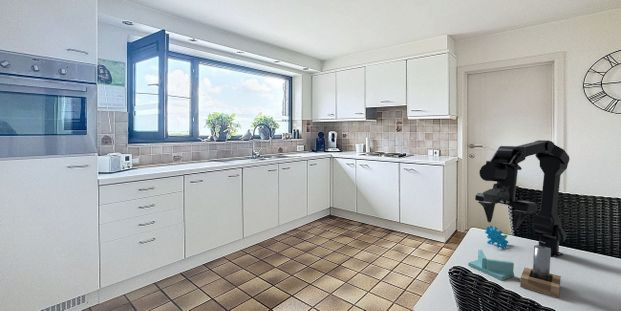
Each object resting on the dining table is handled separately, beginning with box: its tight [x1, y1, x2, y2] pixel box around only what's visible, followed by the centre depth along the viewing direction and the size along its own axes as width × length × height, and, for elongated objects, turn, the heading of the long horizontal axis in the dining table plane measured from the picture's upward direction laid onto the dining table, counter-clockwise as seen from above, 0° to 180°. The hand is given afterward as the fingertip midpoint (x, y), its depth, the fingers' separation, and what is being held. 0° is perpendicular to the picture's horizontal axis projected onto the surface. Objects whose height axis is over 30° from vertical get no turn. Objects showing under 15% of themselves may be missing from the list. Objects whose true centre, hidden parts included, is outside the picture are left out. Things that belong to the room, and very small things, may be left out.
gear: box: [484, 225, 509, 250], centre depth 124 cm, size 11×6×10 cm
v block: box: [467, 249, 515, 281], centre depth 100 cm, size 6×12×5 cm, turn 25°
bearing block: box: [519, 266, 562, 299], centre depth 90 cm, size 9×9×3 cm
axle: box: [532, 244, 551, 282], centre depth 90 cm, size 4×4×12 cm
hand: (501, 225), depth 103 cm, fingers open, 9 cm apart
